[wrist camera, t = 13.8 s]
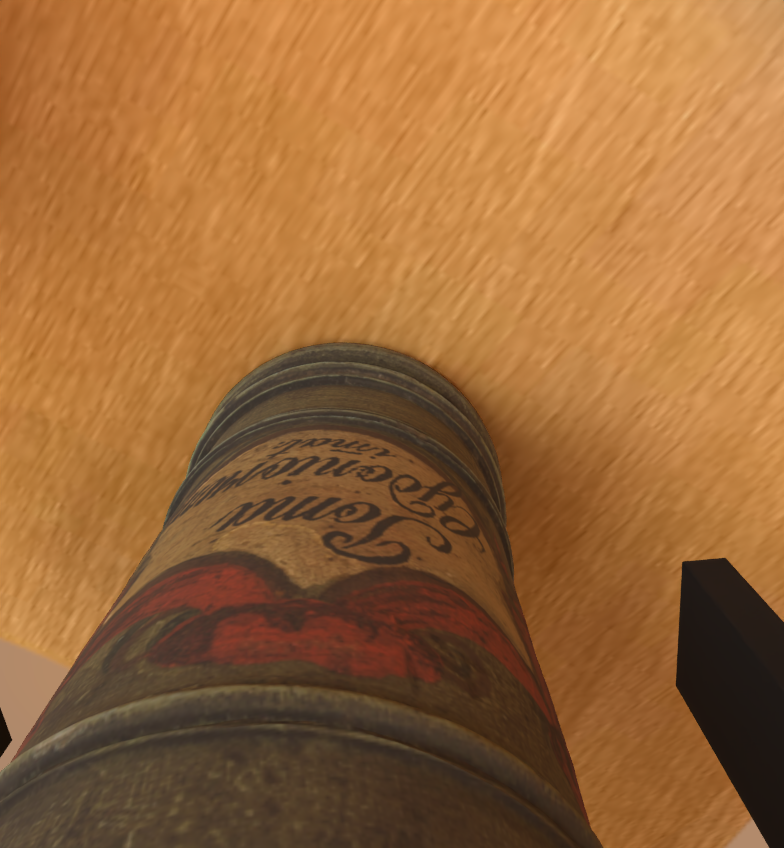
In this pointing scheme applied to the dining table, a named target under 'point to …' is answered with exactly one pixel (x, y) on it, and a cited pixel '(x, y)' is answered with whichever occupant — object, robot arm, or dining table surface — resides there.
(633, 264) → the dining table surface
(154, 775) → the container
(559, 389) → the dining table surface
